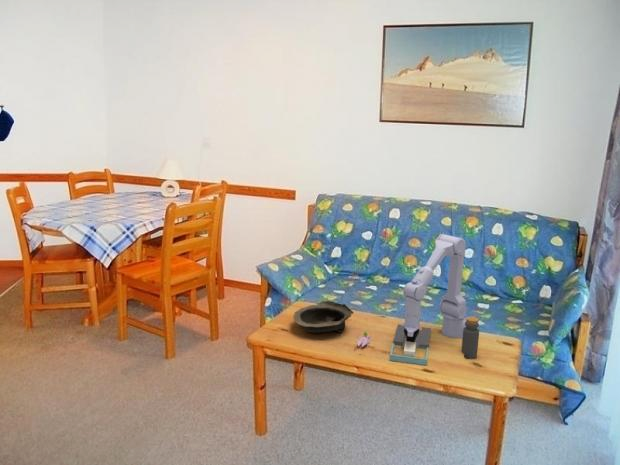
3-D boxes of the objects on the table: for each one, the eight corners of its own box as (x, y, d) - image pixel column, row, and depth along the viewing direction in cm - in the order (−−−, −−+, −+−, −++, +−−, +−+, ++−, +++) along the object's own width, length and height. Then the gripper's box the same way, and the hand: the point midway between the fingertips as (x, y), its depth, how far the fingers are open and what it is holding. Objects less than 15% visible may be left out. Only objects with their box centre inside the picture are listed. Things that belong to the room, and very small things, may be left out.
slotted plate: (430, 334, 228) (430, 328, 228) (428, 352, 211) (428, 345, 211) (397, 330, 232) (397, 324, 231) (392, 348, 215) (393, 340, 214)
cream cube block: (415, 351, 210) (416, 342, 209) (414, 357, 206) (415, 347, 205) (404, 350, 211) (405, 341, 210) (404, 355, 207) (404, 346, 206)
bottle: (474, 360, 206) (478, 322, 203) (459, 356, 209) (462, 319, 206) (478, 354, 211) (482, 317, 207) (463, 350, 214) (466, 314, 210)
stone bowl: (361, 325, 236) (361, 305, 233) (332, 349, 216) (332, 328, 213) (313, 312, 249) (312, 294, 246) (281, 334, 229) (280, 314, 226)
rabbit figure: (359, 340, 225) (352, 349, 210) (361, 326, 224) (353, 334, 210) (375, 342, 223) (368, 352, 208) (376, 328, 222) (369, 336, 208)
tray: (428, 352, 211) (428, 346, 211) (426, 365, 200) (427, 359, 200) (392, 348, 214) (393, 342, 214) (389, 361, 203) (389, 354, 203)
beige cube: (415, 356, 206) (415, 346, 205) (414, 361, 203) (414, 352, 201) (404, 354, 207) (404, 345, 206) (403, 360, 204) (403, 350, 202)
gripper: (403, 306, 216) (401, 338, 219) (400, 319, 202) (398, 353, 205) (421, 308, 214) (419, 340, 217) (419, 321, 201) (417, 355, 204)
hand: (410, 347), depth 211 cm, fingers closed
